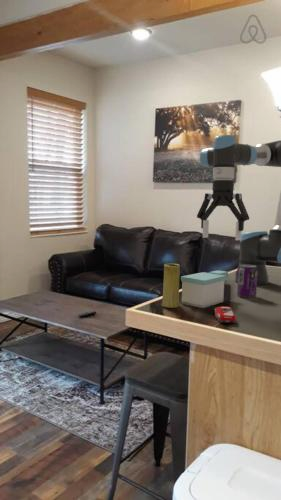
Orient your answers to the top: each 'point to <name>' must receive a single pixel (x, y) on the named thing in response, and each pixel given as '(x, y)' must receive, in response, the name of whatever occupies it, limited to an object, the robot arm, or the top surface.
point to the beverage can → (247, 281)
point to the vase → (171, 286)
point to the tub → (202, 294)
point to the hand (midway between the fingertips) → (221, 238)
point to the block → (205, 277)
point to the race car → (224, 315)
